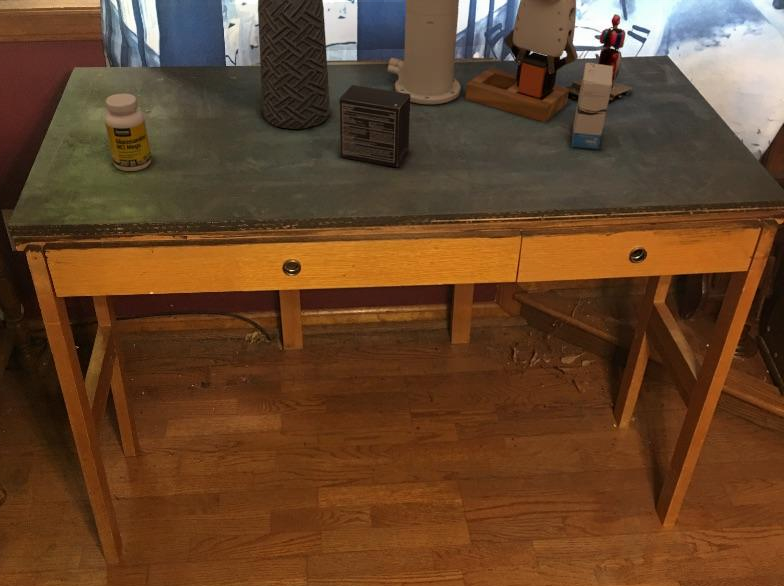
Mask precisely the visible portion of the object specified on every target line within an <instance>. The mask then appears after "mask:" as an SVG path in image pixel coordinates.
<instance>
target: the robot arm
mask: <svg viewBox="0 0 784 586" xmlns="http://www.w3.org/2000/svg"><path fill="white" fill-rule="evenodd" d="M459 5H460V0H405V21H404V22H405V24H404V25H405V26H404V52H403V60H401V59H399V58H396V57H390V59H389V60H388V66H387V72H388V73H389V74H395V75H397V80H396V81H395V83H394V92H400V93H406V94H410V95H411V96H410V103H414V104H420V105H441V104H446V103H449V102H451V101H454V100H456V99H457V98H458V97H459V96H460V94H461V88H462V87H461V83H460V82H459V81H458V80H457V79H455V78H454V72H455V60H456V59H455V58H456V47H457V34H458V21H459V20H458V19H459ZM515 15H516V16H515V20H514V26H513V29H512V30H511V31H510V32H509V33H508V34H507V35H506V36H505V37H504V39H503V43H504V44H505V45H506V46H507V48H508V49H509V50H510V51H511V54H512V55H513V57H514V59H515V63H516V64H517V68H516V69H517V70H516V75H517V76H516V79H517V80H518V81H517V87H519V82H520V75H521V68H522V61H523V59H524V58H526V57H527V56H529V55H530V54H531V53H533V52H535V53H538V54H542V55H546V56H547V62H548V70H547V72H546V73H545V75H544V82H543V88H542V94H544V95H545V94H546V93H548V92H549V91H550V90H551V89H553V88H554V85H556V78H557V73H558V71H559V70H560V69H561V68H563V67H564V66H567V65H569V64H571V63H574V62H575V61H577V60H578V58H579V55H578V53H577V50H576V47H575V44H574V39H575V38H574V37H575V30H576V29H575V28H576V19H577V18H576V17H577V0H520V1H519V4H518V8H517V12H516V14H515ZM564 52H565V54H566V55H565V56H564V57H562V56H563V54H564Z"/></svg>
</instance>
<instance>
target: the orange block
mask: <svg viewBox="0 0 784 586" xmlns="http://www.w3.org/2000/svg"><path fill="white" fill-rule="evenodd" d="M547 70H548V62H547V55H543V54H540V53H536V52H531V53H530V55H529V56H527V57H526V58H524V59H523V61H522V68H521V75H520V82H519V89H518V92H521V93H524V94H527V95H531V96H534V97H537V98H540V97H541V96H543V95H544V94H542V88H543V82H544V75H545V73H546V72H547Z"/></svg>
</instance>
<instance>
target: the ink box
mask: <svg viewBox="0 0 784 586" xmlns="http://www.w3.org/2000/svg"><path fill="white" fill-rule="evenodd" d="M612 74H613V66H608V65H601V64H598V63H593V62H586V63H585V64H584V67H583V72H582V79H581V80H582V83H581V88H580V93H579V97H577V98H578V99H577V104H576V108H575V114H574V120H573V126H572V135H571V147H572V148H578V149H579V148H580V149H590V150H599V148H600V144H601V140H602V134H603V129H604V125H605V121H606V116H607V111H608V106H609V97H610V92H611V87H612Z"/></svg>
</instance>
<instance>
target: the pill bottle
mask: <svg viewBox="0 0 784 586" xmlns="http://www.w3.org/2000/svg"><path fill="white" fill-rule="evenodd" d="M105 105H106V110H107V112H106V114H105V116H104V123H105V128H106V133H107V139H108V143H109V148H110V153H111V157H112V162H113V165H114V167H115V168H117V169H118V170H121V171H123V172H135V171H136V172H137V171H140V170H144V169H146V168H148V167H149V166H150V164H151V163H152V154H151V148H150V143H149V137H148V131H147V126H146V120H145V115H144V113H143V112H142V111H141V110H140V109H139V108H138V101H137V97H136V96H135V95H133V94H131V93H115V94H112V95H110V96H108V97H107V98H106V99H105Z"/></svg>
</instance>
